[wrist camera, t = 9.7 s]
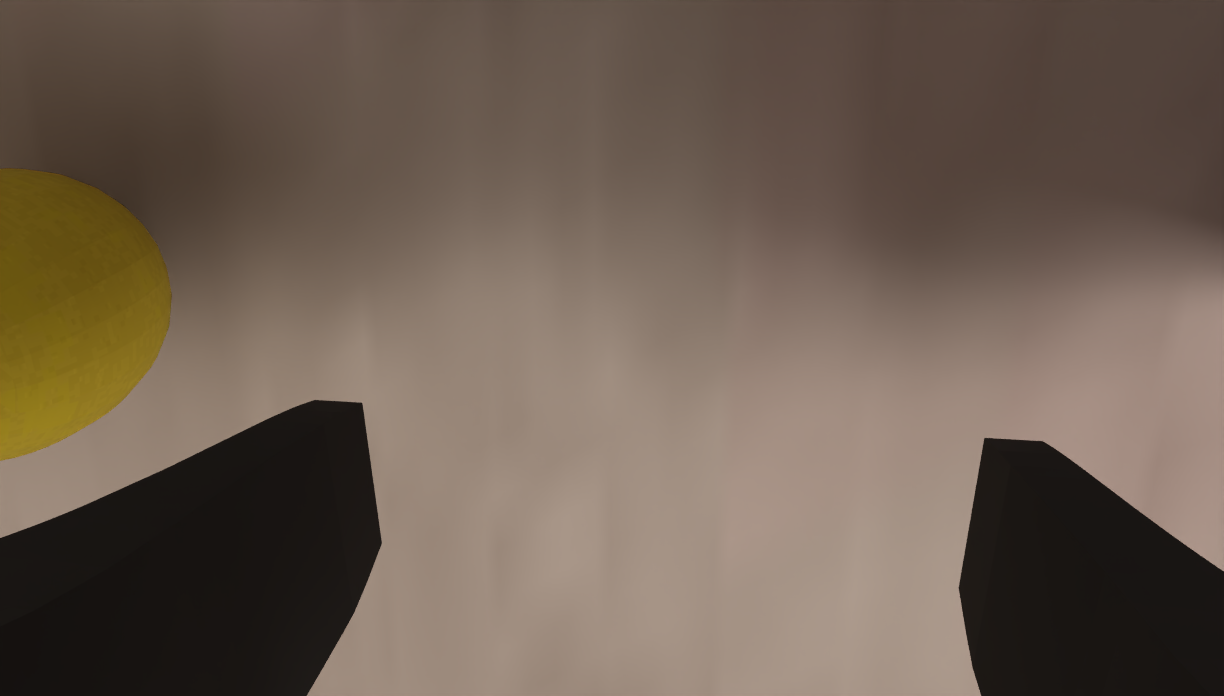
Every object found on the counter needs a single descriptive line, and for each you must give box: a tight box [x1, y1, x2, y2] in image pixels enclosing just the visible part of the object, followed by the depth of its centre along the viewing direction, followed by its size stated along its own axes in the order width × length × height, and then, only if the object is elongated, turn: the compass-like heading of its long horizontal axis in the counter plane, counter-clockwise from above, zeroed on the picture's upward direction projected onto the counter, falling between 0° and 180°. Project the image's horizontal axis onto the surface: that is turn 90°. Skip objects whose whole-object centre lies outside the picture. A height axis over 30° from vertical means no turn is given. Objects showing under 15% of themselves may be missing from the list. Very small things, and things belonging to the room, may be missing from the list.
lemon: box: [0, 168, 172, 461], centre depth 19 cm, size 6×6×8 cm
